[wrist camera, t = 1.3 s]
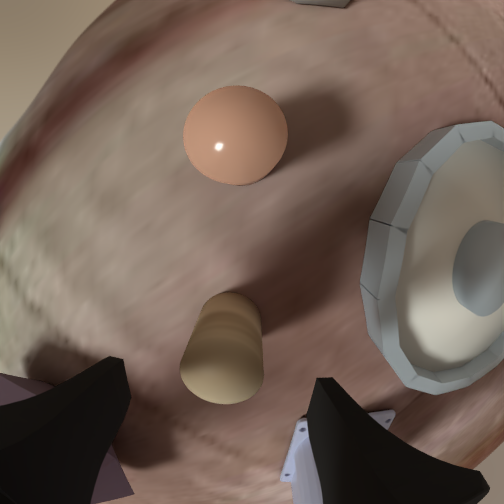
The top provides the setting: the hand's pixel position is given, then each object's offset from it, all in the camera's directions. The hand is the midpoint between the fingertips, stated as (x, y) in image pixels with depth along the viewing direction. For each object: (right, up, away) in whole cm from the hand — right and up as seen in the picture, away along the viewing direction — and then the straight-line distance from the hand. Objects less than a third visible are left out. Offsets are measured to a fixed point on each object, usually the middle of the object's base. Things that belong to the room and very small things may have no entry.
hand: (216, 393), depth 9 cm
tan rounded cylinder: (0, +1, +6) cm, 6 cm away
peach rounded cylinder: (+1, +10, +4) cm, 11 cm away
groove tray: (+16, +4, +5) cm, 18 cm away
